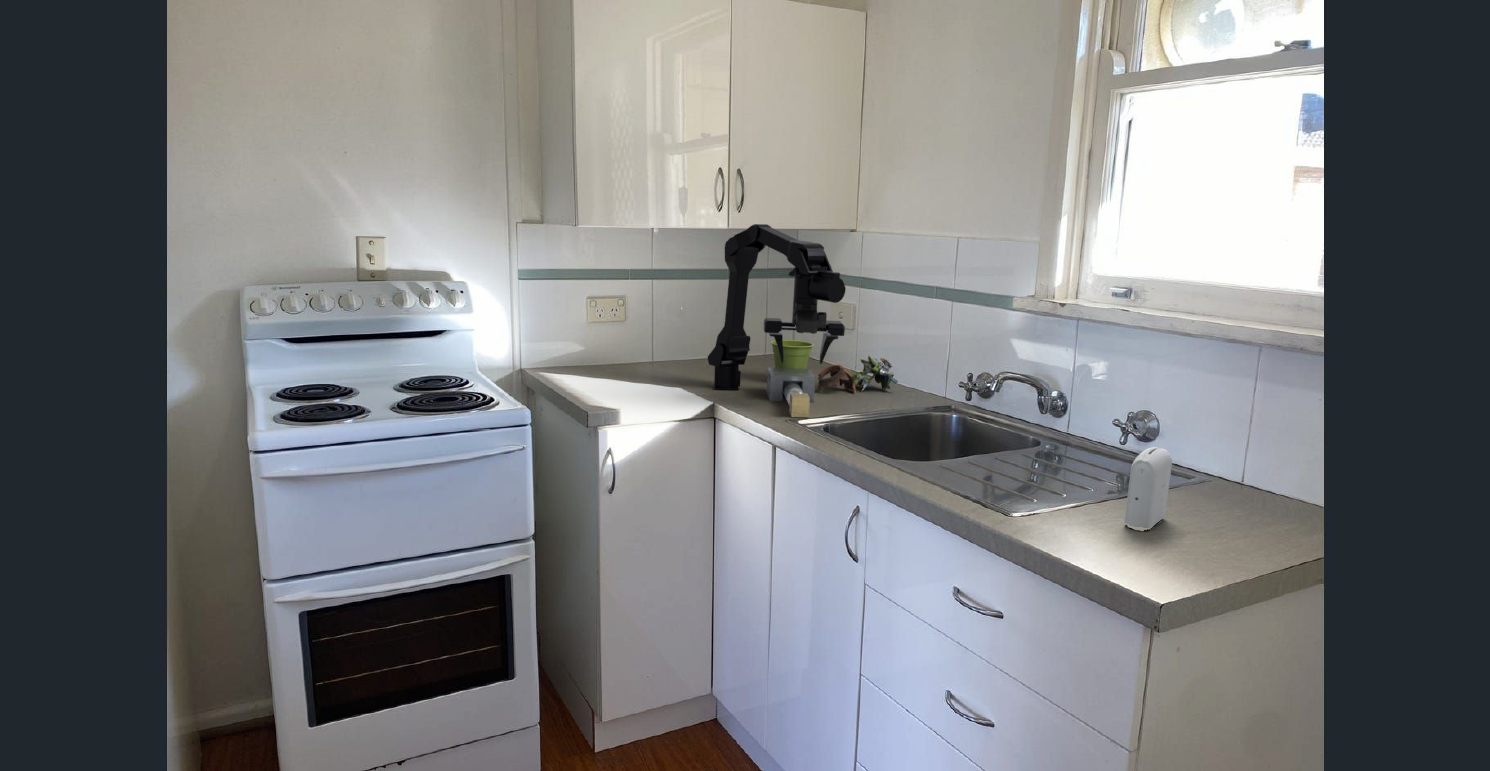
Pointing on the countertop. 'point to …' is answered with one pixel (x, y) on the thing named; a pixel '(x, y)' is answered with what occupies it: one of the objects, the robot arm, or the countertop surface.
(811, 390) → the housing
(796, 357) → the plant pot
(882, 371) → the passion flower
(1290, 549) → the countertop surface
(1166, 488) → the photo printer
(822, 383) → the brown lumpy piece
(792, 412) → the end cover
